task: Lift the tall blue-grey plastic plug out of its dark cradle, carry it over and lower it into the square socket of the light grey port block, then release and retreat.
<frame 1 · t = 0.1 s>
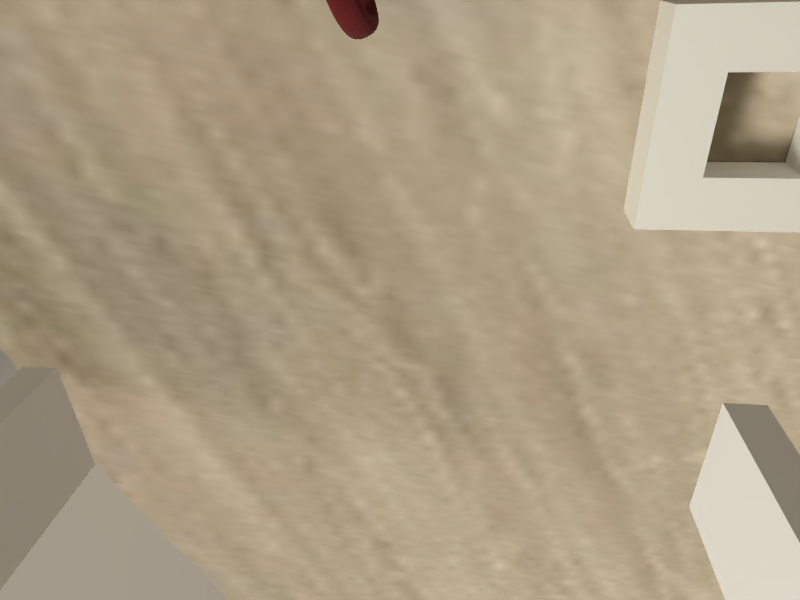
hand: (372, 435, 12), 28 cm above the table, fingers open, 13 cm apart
port: (748, 114, 34), on the table
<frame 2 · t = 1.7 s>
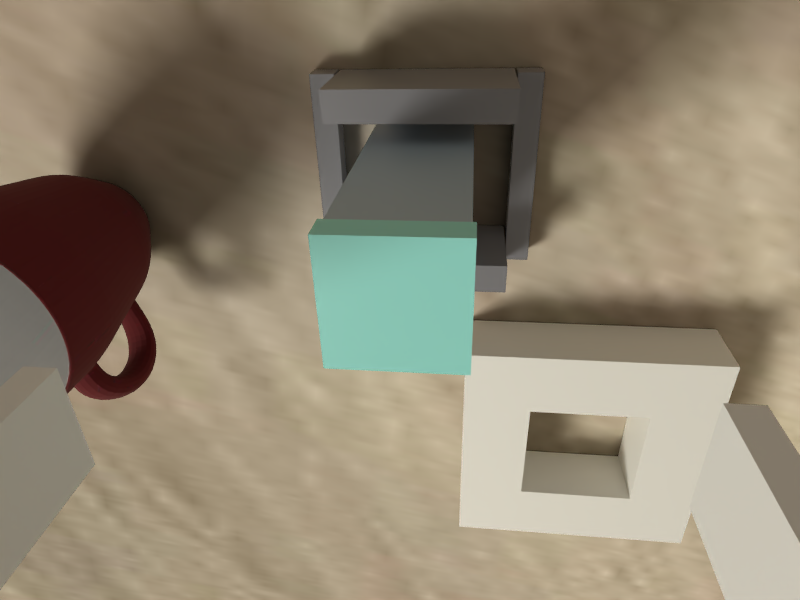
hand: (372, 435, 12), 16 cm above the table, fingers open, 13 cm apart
holster: (426, 165, 26), on the table
mug: (130, 238, 30), on the table
plug: (426, 165, 26), resting in holster
port: (573, 416, 32), on the table
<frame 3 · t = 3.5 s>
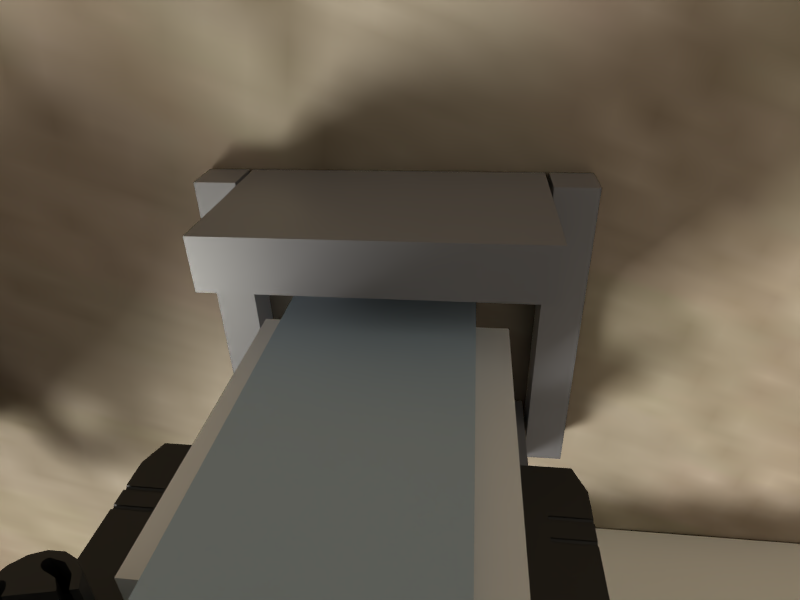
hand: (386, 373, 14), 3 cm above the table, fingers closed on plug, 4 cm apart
holster: (399, 314, 16), on the table
plug: (399, 313, 16), resting in holster, touching gripper
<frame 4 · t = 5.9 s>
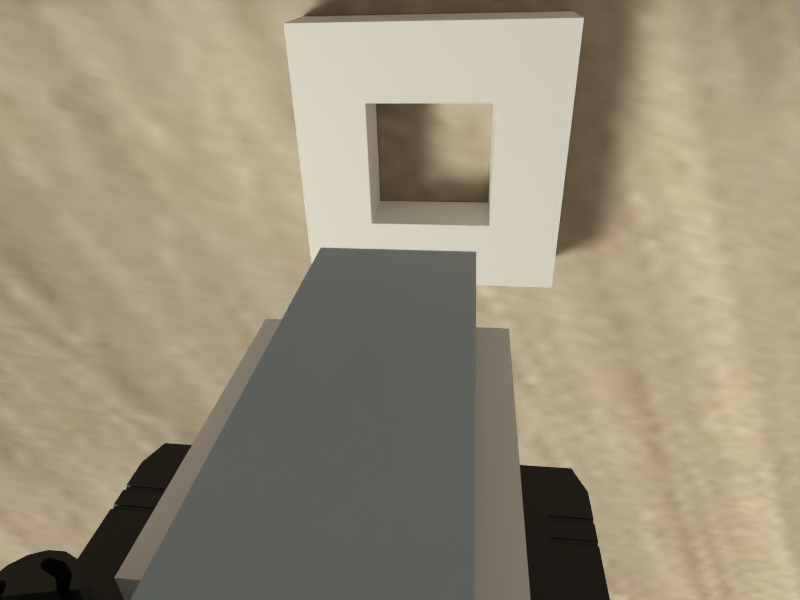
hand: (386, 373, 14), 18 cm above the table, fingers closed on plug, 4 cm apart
plug: (399, 316, 16), point 15 cm above the table, touching gripper
port: (433, 148, 29), on the table
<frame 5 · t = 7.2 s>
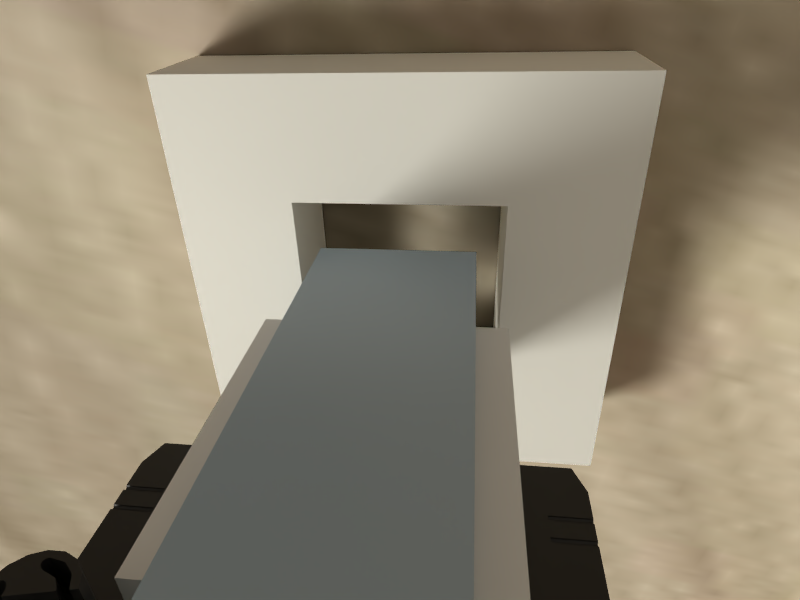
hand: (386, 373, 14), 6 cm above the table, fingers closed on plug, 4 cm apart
plug: (399, 316, 16), point 4 cm above the table, touching gripper
port: (410, 251, 19), on the table
when the fingers open (4 cm above the table, at t = 8.4 s): plug drops 2 cm, resting in port.
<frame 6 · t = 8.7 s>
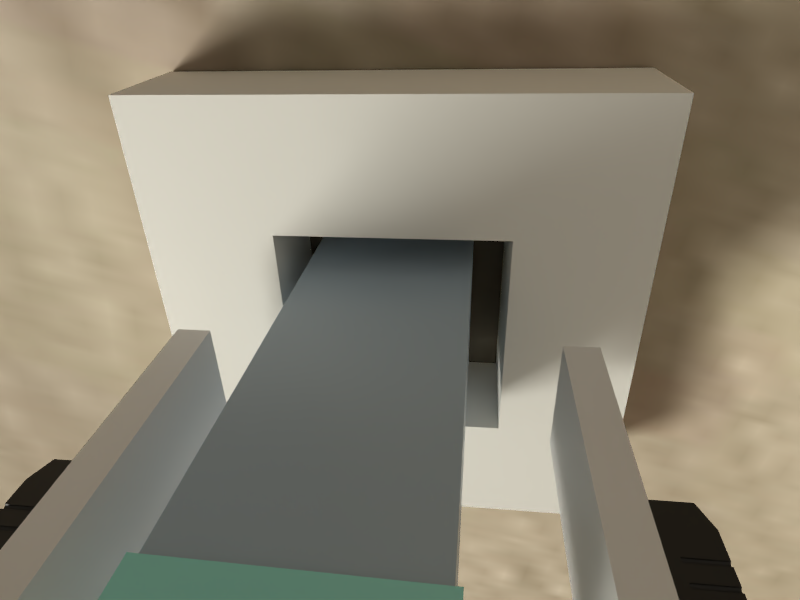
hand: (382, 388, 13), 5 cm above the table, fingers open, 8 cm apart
plug: (404, 283, 18), resting in port
port: (406, 282, 18), on the table
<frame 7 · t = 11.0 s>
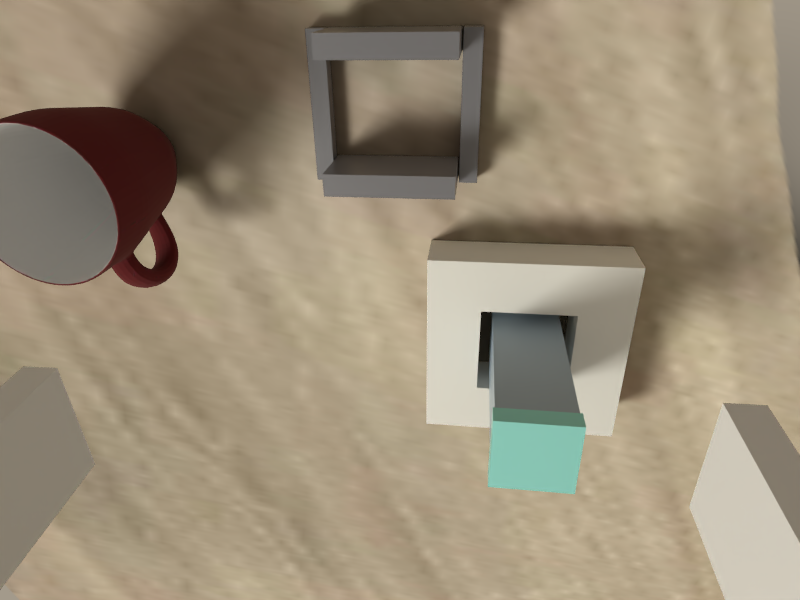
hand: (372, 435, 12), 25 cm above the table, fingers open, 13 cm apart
holster: (396, 105, 33), on the table
mug: (159, 170, 36), on the table
plug: (521, 328, 38), resting in port
port: (522, 328, 38), on the table
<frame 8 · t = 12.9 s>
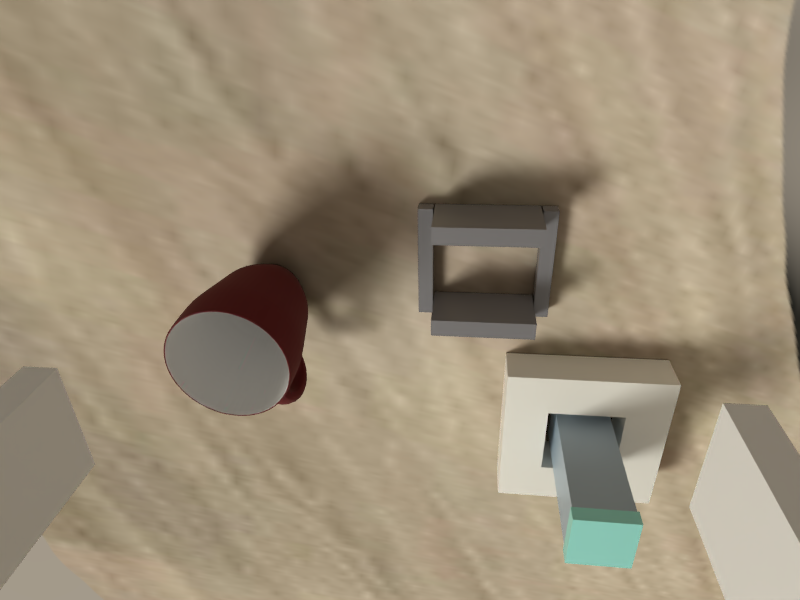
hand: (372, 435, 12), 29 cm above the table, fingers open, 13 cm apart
holster: (484, 258, 41), on the table
mug: (285, 298, 45), on the table
plug: (575, 417, 47), resting in port
port: (576, 417, 47), on the table
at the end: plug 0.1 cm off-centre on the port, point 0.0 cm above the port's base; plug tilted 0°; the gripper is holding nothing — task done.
